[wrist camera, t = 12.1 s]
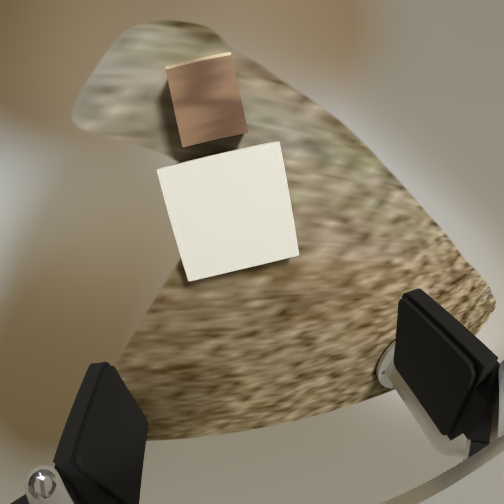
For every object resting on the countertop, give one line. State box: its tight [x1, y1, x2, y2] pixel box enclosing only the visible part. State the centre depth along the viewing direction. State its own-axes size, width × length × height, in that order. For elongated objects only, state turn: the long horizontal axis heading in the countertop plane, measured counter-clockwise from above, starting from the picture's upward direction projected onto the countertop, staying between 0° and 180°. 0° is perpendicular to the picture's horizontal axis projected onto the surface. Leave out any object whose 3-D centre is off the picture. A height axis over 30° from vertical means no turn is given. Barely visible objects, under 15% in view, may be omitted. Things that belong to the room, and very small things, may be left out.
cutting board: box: [157, 142, 299, 281], centre depth 31 cm, size 12×12×2 cm
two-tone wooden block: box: [165, 52, 248, 147], centre depth 26 cm, size 6×4×8 cm
